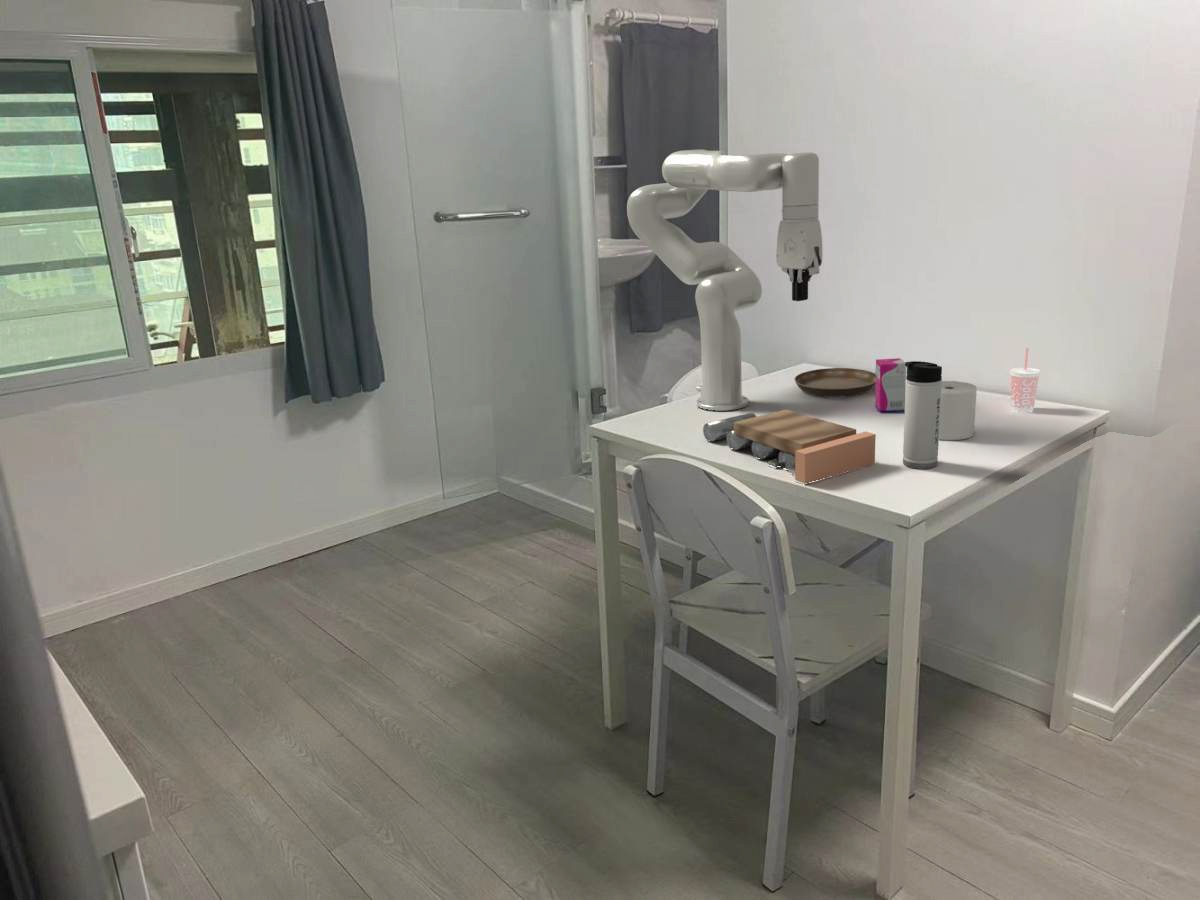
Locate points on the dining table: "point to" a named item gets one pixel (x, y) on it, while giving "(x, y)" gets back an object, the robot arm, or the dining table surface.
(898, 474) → the dining table surface
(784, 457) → the roller
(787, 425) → the slab
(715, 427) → the rear roller
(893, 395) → the supplement box
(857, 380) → the plant saucer
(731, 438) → the middle roller
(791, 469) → the cradle
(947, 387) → the toilet tissue
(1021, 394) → the beverage cup
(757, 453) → the cylinder
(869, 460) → the bar
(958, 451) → the dining table surface
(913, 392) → the travel mug
